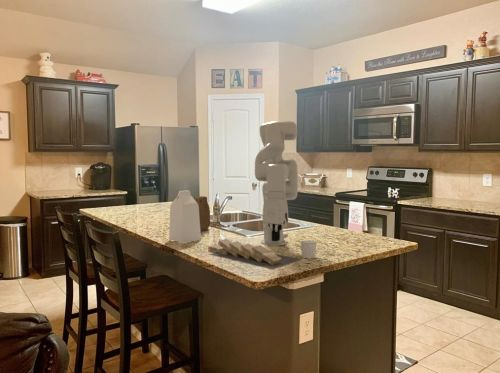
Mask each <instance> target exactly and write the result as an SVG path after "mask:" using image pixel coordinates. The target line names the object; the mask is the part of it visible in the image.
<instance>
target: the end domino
mask: <svg viewBox="0 0 500 373" xmlns="http://www.w3.org/2000/svg"><path fill="white" fill-rule="evenodd" d="M207 248H208V249H207V251H209V252H212V253H221V254H225V255H228V254H231V253H230V252H228V251H227V250H225V249H224V248H222V247H221V246H219V245H218V244H212V245H208V246H207Z"/></svg>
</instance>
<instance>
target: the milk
mask: <svg viewBox="0 0 500 373" xmlns="http://www.w3.org/2000/svg"><path fill="white" fill-rule="evenodd" d="M169 208H170V209H169V228H168V232H169V233H168V234H169V236H168V240H169V239H170V240H174V241H178V242H181V243H180V244H182V243H184V244H186V243H185V242H189V243H192V242H191V241H194V242H198V241H197V240H199V241H202V236H201V235H202V234H201V232H202V231H200V218H199V206H198V204H197V202H196V201H195V200H194V197H193V196H192V195H191V190H179V191H178V194H177V196H176V197H175V199H174V200H173V201H172V202H171V204H170V206H169Z"/></svg>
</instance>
